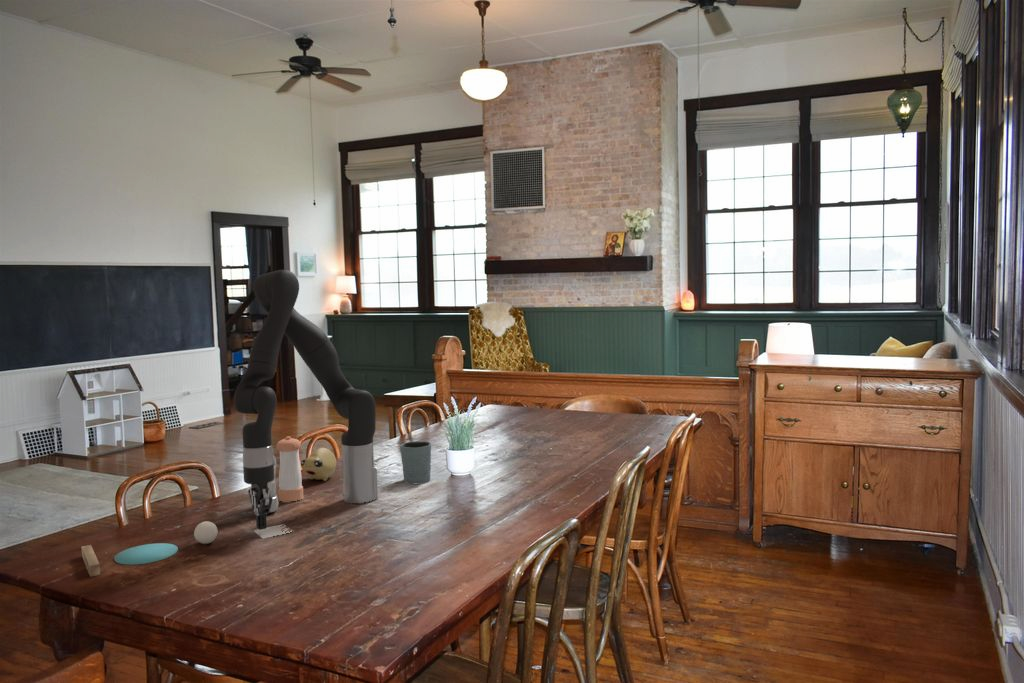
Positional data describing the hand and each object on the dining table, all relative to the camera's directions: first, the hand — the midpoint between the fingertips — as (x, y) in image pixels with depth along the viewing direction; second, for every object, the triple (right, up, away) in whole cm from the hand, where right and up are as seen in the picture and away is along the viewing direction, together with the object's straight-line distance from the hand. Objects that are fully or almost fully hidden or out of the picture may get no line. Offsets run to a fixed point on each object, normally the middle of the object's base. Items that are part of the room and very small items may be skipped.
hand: (261, 528), depth 199 cm
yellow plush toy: (+2, +3, +54) cm, 54 cm away
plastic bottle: (-5, 0, +19) cm, 19 cm away
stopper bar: (-34, -4, -20) cm, 39 cm away
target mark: (-24, -3, -13) cm, 27 cm away
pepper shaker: (-2, +1, +32) cm, 32 cm away
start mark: (+2, -1, +2) cm, 3 cm away
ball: (-12, 0, -6) cm, 14 cm away
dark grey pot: (+34, +3, +51) cm, 61 cm away
